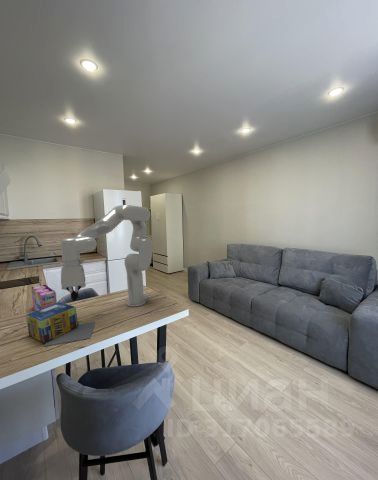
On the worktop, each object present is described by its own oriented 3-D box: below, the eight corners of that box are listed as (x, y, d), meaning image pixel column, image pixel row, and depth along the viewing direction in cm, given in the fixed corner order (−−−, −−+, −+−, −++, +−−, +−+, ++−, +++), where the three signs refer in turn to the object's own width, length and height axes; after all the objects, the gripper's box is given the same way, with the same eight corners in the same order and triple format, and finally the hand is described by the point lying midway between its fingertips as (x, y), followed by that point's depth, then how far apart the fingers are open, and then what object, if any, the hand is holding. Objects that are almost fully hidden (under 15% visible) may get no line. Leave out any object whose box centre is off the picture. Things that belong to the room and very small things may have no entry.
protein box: (78, 326, 105) (44, 344, 92) (62, 320, 113) (28, 335, 100) (75, 306, 103) (40, 321, 90) (59, 301, 111) (24, 314, 98)
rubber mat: (95, 322, 110) (95, 321, 110) (90, 338, 95) (90, 337, 95) (56, 328, 105) (56, 327, 105) (44, 346, 90) (44, 345, 90)
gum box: (32, 307, 132) (30, 286, 130) (47, 303, 138) (45, 283, 136) (42, 319, 115) (39, 295, 114) (58, 314, 121) (56, 291, 120)
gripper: (89, 260, 109) (92, 294, 111) (56, 263, 105) (60, 298, 107) (87, 263, 102) (90, 300, 104) (51, 266, 98) (55, 304, 99)
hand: (75, 299), depth 105 cm, fingers closed
